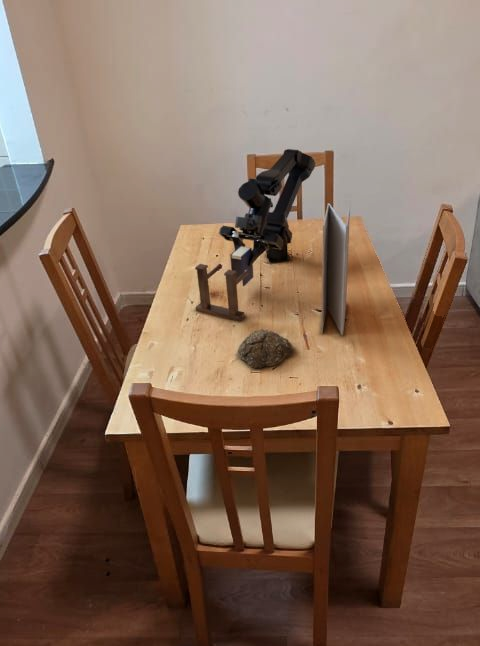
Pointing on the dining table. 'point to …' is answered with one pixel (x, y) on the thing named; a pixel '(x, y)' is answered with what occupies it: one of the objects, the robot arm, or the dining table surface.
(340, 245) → the brochure
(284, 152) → the robot arm
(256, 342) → the grey brown rock
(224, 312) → the peg stand
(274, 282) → the dining table surface
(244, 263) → the book
